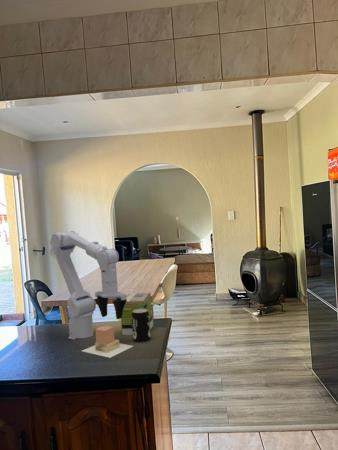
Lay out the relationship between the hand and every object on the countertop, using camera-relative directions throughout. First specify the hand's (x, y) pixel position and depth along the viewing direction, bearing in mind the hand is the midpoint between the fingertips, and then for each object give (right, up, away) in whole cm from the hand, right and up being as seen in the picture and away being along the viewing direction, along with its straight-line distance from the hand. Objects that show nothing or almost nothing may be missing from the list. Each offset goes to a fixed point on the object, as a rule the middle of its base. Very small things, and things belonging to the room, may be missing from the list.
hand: (111, 317), depth 138 cm
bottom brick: (0, -9, -8) cm, 12 cm away
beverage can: (+11, -9, 0) cm, 15 cm away
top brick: (-1, -7, -9) cm, 11 cm away
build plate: (0, -10, -8) cm, 13 cm away
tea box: (+9, -9, +13) cm, 18 cm away
